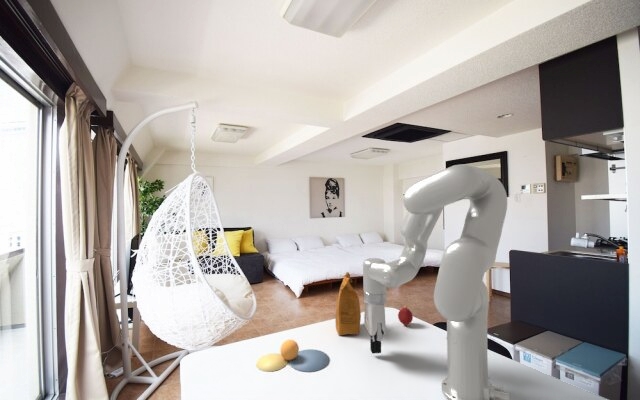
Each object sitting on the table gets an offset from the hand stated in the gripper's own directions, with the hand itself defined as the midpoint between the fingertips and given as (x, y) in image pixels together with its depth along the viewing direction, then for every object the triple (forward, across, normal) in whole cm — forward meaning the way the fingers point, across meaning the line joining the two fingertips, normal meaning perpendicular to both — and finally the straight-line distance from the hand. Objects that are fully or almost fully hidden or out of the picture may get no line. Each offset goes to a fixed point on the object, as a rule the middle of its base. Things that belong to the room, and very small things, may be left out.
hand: (375, 351), depth 96 cm
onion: (+2, -22, +18) cm, 29 cm away
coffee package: (+2, -21, -6) cm, 22 cm away
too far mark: (+2, 0, -34) cm, 34 cm away
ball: (-2, -2, -28) cm, 28 cm away
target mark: (+2, 0, -22) cm, 22 cm away
